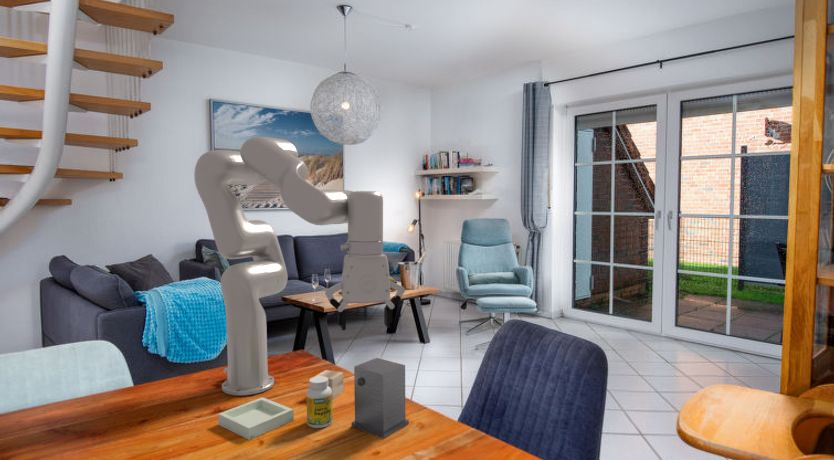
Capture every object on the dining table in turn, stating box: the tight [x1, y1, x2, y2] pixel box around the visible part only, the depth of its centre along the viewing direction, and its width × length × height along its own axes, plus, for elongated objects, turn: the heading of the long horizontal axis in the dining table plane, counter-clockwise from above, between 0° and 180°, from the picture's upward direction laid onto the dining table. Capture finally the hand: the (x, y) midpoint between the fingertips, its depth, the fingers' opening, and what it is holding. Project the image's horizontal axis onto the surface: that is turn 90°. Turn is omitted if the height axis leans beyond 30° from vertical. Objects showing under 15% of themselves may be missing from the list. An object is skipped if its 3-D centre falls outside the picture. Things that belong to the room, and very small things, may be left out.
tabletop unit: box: [351, 357, 410, 439], centre depth 107 cm, size 9×8×13 cm
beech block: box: [314, 369, 344, 401], centre depth 124 cm, size 5×5×5 cm
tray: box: [217, 396, 295, 441], centre depth 108 cm, size 11×11×2 cm
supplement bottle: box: [305, 376, 334, 429], centre depth 108 cm, size 5×5×10 cm
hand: (365, 327), depth 110 cm, fingers open, 9 cm apart
